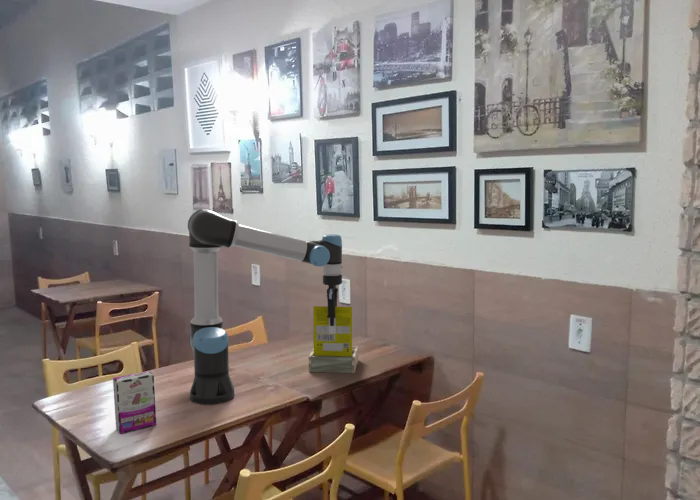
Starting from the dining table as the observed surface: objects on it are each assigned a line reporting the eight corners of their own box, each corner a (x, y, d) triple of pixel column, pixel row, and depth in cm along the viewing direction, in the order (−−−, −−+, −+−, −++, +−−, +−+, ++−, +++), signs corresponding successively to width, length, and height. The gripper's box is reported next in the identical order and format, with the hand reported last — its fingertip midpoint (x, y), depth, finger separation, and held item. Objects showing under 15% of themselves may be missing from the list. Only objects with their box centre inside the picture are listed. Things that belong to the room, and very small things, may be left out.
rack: (354, 373, 231) (354, 358, 230) (308, 371, 233) (308, 356, 232) (358, 360, 247) (358, 346, 246) (315, 358, 249) (315, 345, 248)
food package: (352, 356, 234) (352, 306, 232) (351, 357, 233) (351, 307, 231) (313, 355, 235) (313, 306, 233) (313, 356, 234) (313, 306, 232)
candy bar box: (151, 420, 186) (149, 370, 184) (156, 425, 182) (154, 374, 180) (114, 428, 180) (112, 377, 178) (119, 434, 176) (116, 381, 173)
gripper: (339, 277, 223) (339, 338, 225) (343, 271, 236) (344, 328, 239) (320, 277, 223) (320, 337, 226) (325, 271, 237) (325, 328, 240)
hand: (332, 332), depth 233 cm, fingers closed on food package
